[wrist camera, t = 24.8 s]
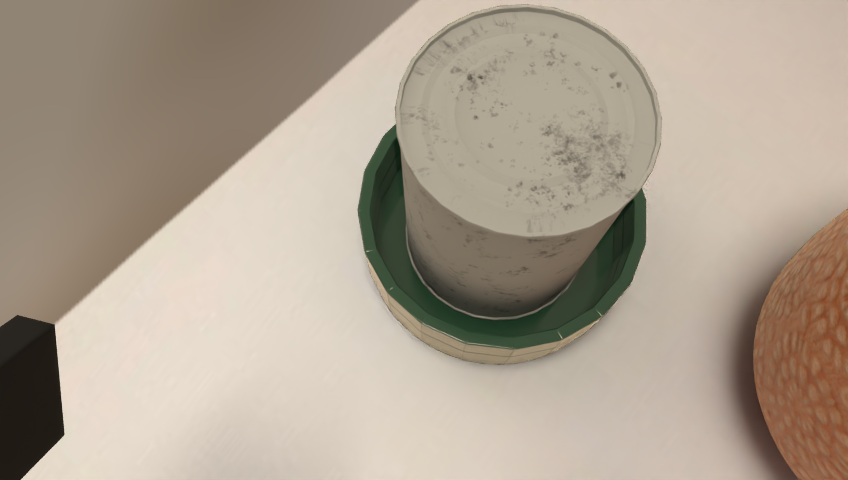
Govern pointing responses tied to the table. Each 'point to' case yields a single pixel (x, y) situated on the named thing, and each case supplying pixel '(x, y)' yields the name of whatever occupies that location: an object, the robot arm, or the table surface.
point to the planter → (808, 356)
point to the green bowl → (475, 336)
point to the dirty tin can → (519, 154)
